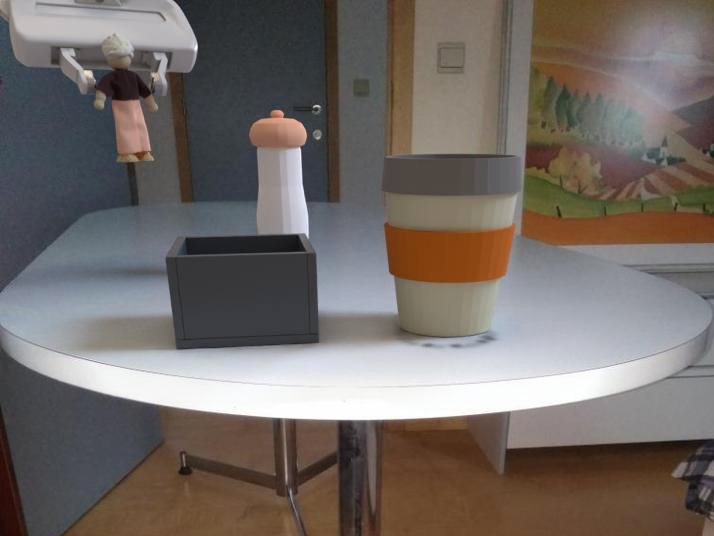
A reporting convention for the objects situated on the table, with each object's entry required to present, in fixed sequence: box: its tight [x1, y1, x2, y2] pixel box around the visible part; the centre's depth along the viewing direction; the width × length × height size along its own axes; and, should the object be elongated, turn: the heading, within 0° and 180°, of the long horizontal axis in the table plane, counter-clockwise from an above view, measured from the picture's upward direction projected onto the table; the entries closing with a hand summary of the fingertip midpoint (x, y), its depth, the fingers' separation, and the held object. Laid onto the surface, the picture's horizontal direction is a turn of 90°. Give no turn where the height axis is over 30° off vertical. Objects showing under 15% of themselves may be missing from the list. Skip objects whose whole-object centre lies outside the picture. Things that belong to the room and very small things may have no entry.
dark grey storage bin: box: [164, 233, 320, 350], centre depth 68 cm, size 13×13×8 cm
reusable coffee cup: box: [380, 153, 523, 338], centre depth 67 cm, size 13×13×15 cm
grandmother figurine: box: [93, 33, 159, 163], centre depth 81 cm, size 8×4×13 cm, turn 149°
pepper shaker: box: [248, 109, 309, 239], centre depth 92 cm, size 7×7×19 cm
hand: (126, 90), depth 80 cm, fingers closed on grandmother figurine, 6 cm apart
